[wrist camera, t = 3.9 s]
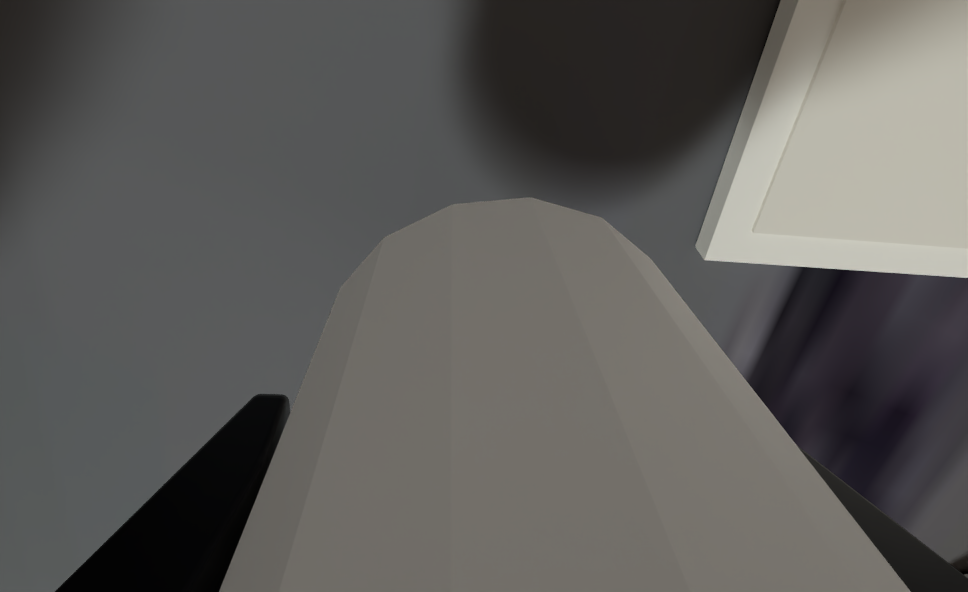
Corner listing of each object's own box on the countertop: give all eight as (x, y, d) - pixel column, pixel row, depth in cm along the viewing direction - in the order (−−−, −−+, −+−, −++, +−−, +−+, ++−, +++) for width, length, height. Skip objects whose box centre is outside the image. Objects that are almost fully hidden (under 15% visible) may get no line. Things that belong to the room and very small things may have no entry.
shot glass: (191, 335, 10) (-164, 1024, 4) (559, 44, 8) (953, 602, 2) (467, 534, 13) (495, 1066, 7) (777, 369, 11) (1161, 932, 5)
